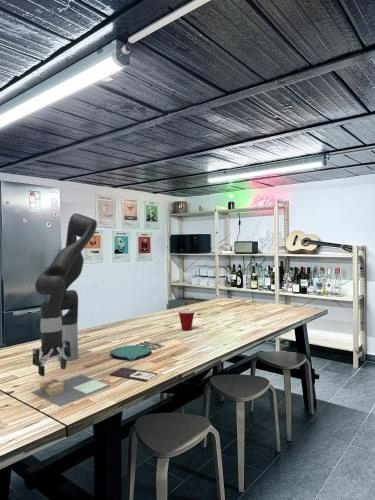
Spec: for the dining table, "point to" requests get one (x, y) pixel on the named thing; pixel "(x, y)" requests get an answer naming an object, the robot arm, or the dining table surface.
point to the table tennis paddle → (133, 351)
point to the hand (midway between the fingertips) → (52, 372)
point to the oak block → (51, 387)
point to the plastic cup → (186, 319)
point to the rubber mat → (74, 390)
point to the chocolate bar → (133, 374)
